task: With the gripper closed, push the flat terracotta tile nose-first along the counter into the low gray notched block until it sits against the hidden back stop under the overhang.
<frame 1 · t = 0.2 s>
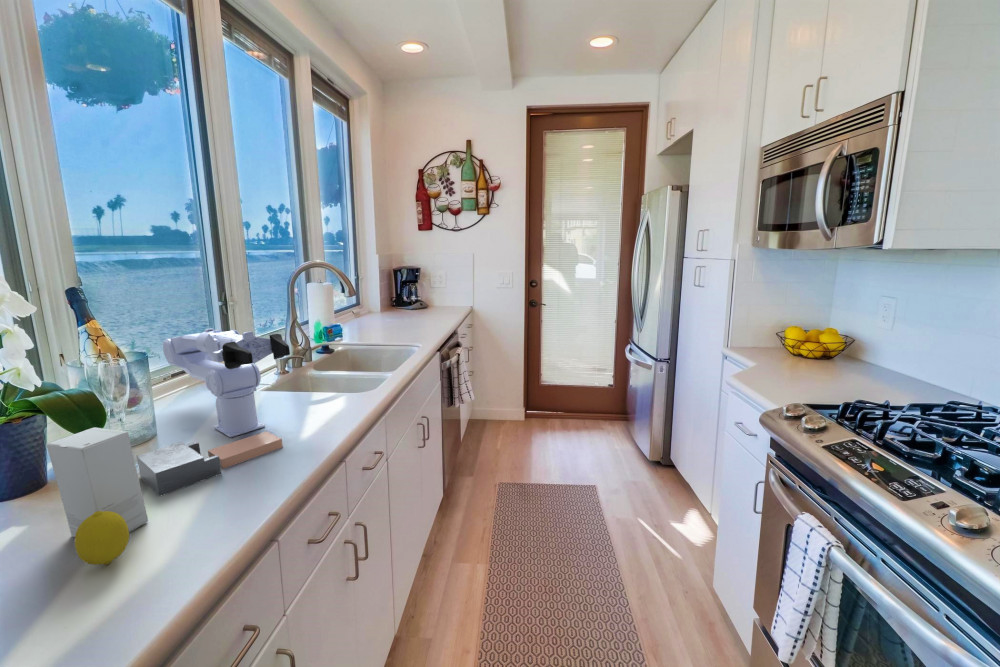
hand: (269, 354, 93), 21 cm above the countertop, tool horizontal, fingers open, 7 cm apart
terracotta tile: (247, 454, 96), on the countertop
lemon: (108, 565, 63), on the countertop
skincare box: (109, 531, 70), on the countertop
low gray notched block: (187, 473, 88), on the countertop
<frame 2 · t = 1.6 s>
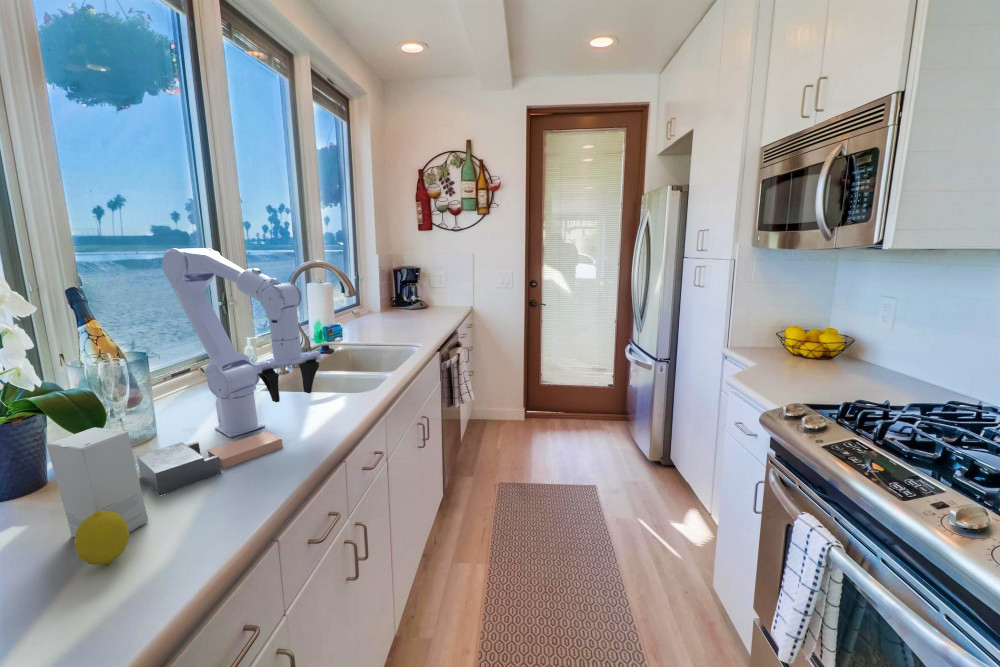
hand: (292, 396, 103), 9 cm above the countertop, tool pointing down, fingers open, 7 cm apart
nothing on the countertop moved.
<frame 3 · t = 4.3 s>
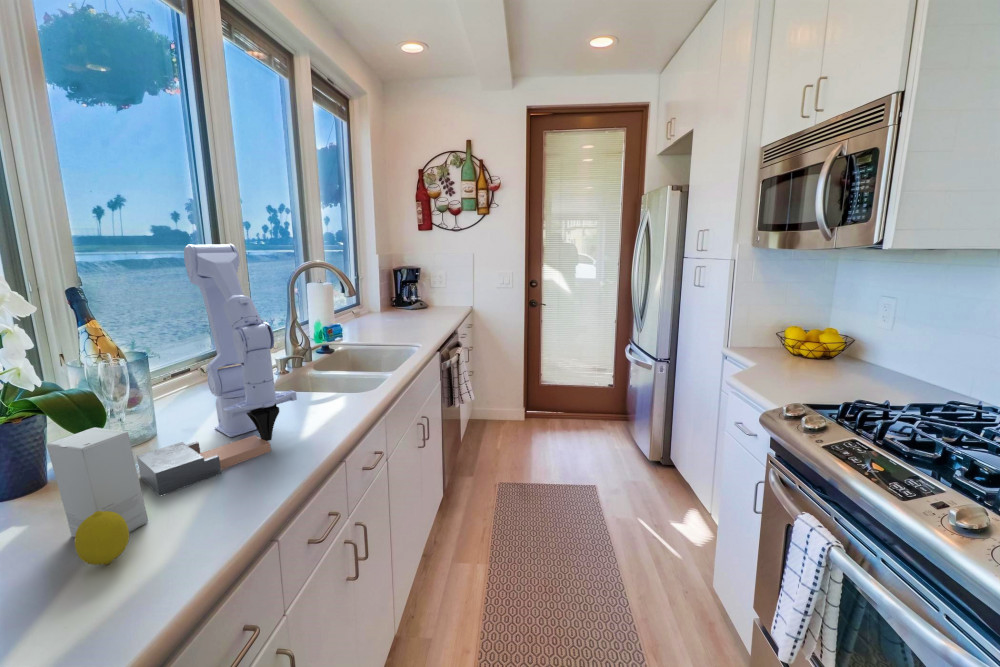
hand: (266, 439, 99), 1 cm above the countertop, tool pointing down, fingers closed
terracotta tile: (234, 459, 94), on the countertop, touching gripper
everything else where it was.
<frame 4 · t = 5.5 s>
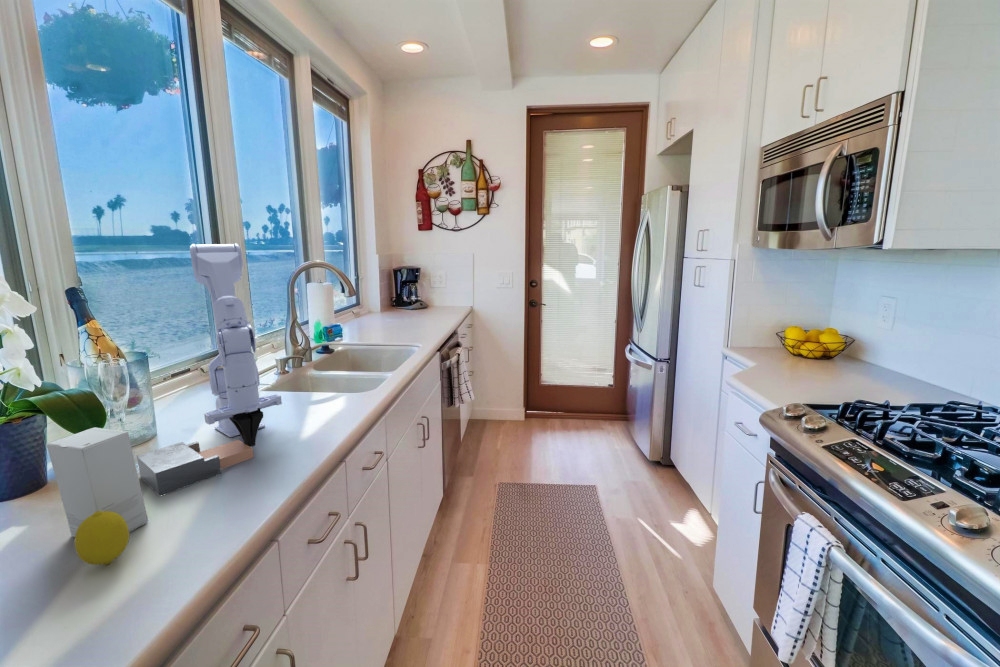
hand: (250, 445, 96), 1 cm above the countertop, tool pointing down, fingers closed
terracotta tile: (215, 465, 92), on the countertop
everything else where it was.
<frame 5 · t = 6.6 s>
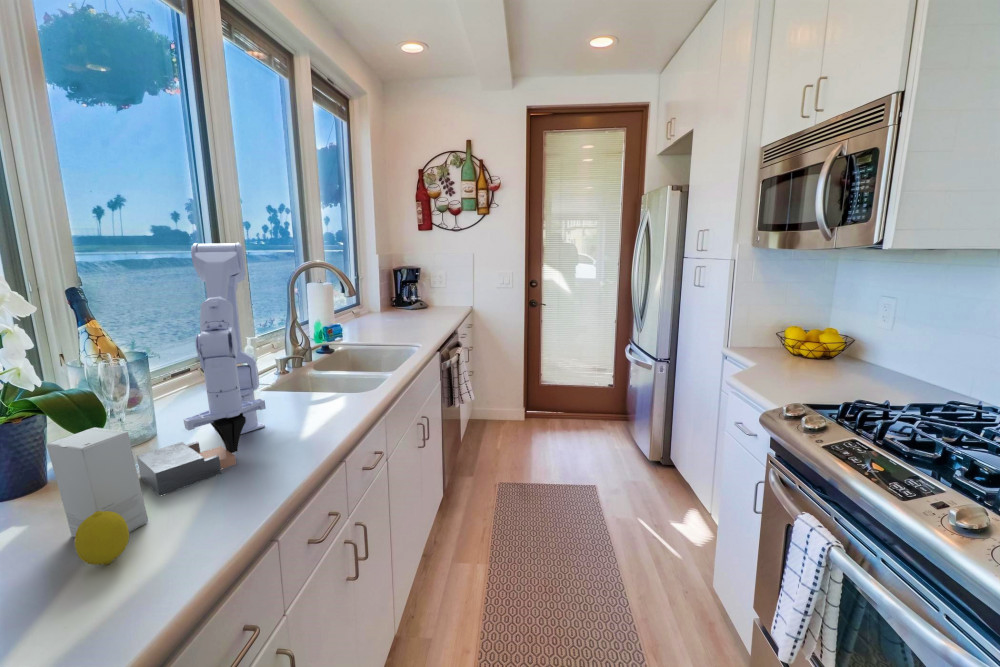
hand: (232, 451, 94), 1 cm above the countertop, tool pointing down, fingers closed
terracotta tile: (196, 472, 89), on the countertop
everything else where it was.
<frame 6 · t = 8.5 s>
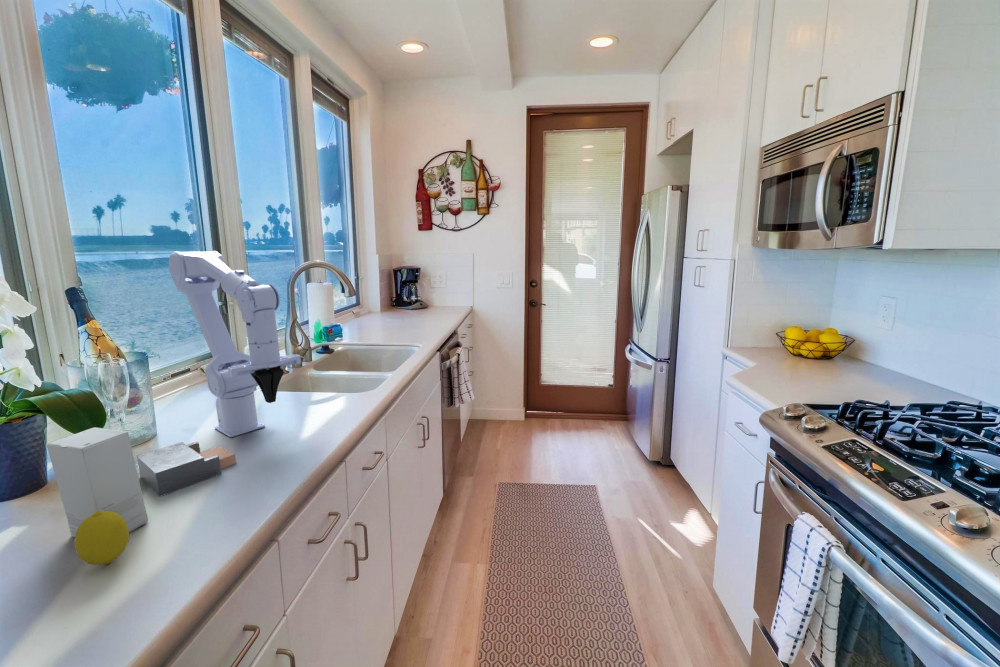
hand: (270, 401, 100), 9 cm above the countertop, tool pointing down, fingers closed
nothing on the countertop moved.
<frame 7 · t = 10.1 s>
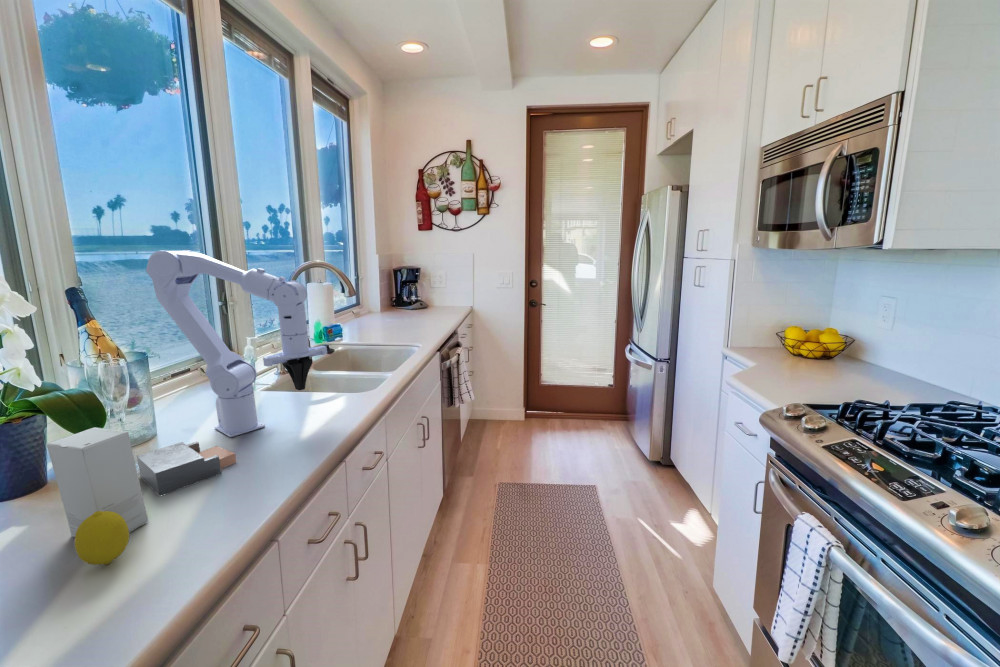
hand: (300, 389, 108), 9 cm above the countertop, tool pointing down, fingers closed
nothing on the countertop moved.
at the end: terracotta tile 0.5 cm from the target spot on the low gray notched block, point -0.5 cm above the low gray notched block's base; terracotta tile tilted 0°; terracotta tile moved 9.5 cm from its start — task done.
